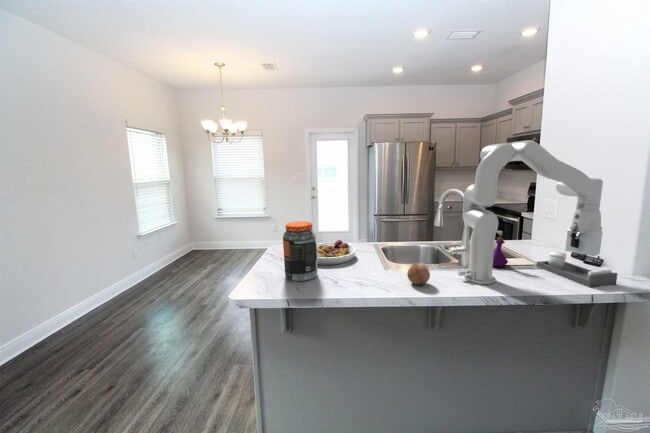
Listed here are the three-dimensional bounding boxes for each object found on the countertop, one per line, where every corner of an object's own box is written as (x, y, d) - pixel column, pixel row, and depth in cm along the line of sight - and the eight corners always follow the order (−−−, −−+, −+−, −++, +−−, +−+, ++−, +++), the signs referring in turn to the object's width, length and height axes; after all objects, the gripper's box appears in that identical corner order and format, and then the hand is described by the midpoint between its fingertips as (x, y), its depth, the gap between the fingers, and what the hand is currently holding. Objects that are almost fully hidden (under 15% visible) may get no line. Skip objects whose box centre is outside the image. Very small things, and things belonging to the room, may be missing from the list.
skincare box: (600, 254, 129) (603, 230, 127) (593, 256, 126) (596, 232, 124) (571, 248, 138) (574, 226, 136) (564, 250, 135) (567, 228, 133)
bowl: (340, 270, 151) (340, 255, 150) (292, 261, 166) (291, 248, 164) (363, 254, 176) (363, 241, 175) (320, 248, 191) (319, 236, 190)
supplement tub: (321, 271, 149) (320, 220, 144) (311, 283, 134) (309, 227, 130) (292, 269, 154) (290, 219, 149) (279, 280, 139) (276, 226, 134)
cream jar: (556, 270, 141) (558, 255, 140) (544, 265, 148) (545, 251, 147) (568, 269, 142) (570, 254, 141) (555, 264, 149) (557, 250, 148)
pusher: (589, 283, 125) (590, 272, 124) (586, 282, 126) (588, 271, 125) (610, 281, 126) (611, 270, 125) (607, 280, 127) (609, 269, 126)
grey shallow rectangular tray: (589, 287, 123) (591, 275, 122) (536, 266, 149) (537, 256, 148) (615, 284, 125) (617, 273, 124) (558, 264, 151) (560, 254, 150)
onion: (410, 287, 135) (404, 266, 137) (431, 282, 133) (424, 260, 135) (412, 288, 125) (405, 265, 128) (434, 283, 124) (426, 260, 126)
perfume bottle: (507, 268, 147) (511, 232, 144) (491, 267, 148) (494, 232, 145) (502, 263, 154) (505, 229, 151) (486, 262, 156) (489, 229, 152)
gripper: (579, 209, 124) (574, 250, 127) (614, 207, 126) (608, 247, 129) (562, 207, 131) (557, 245, 134) (595, 205, 134) (590, 242, 137)
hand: (582, 246), depth 132 cm, fingers closed on skincare box, 7 cm apart
